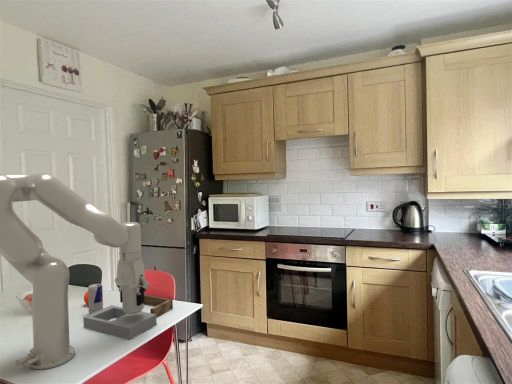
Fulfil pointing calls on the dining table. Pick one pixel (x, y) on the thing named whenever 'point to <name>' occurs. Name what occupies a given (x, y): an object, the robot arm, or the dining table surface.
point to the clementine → (86, 298)
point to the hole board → (119, 322)
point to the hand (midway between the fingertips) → (132, 302)
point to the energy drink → (95, 298)
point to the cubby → (158, 304)
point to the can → (130, 300)
